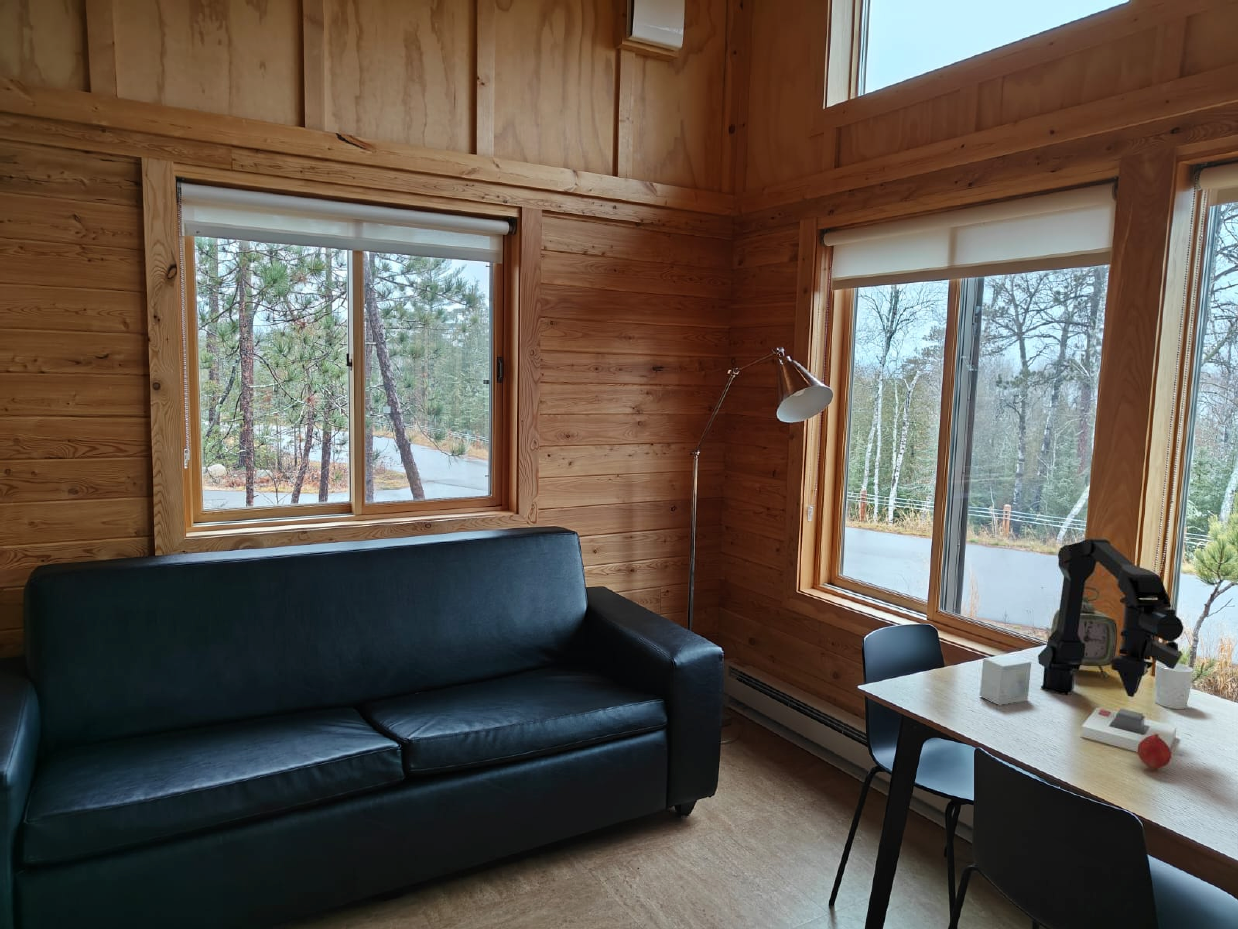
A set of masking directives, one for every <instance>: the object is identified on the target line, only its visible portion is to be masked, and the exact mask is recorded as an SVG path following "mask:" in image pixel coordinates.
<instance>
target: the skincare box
mask: <svg viewBox="0 0 1238 929" xmlns="http://www.w3.org/2000/svg"><path fill="white" fill-rule="evenodd" d="M981 668H982V671H981V681H980V689H979V696H982V697H983V698H986V699H988V700H989V701H988V700H987V701H988V702H990V701H991V702H990V703H992V702H994V703H997V704H998V705H997V706H1003V705H1002V704H1005V705H1009V704H1008V703H1011V704H1014V703H1013V702H1017V703H1022V701H1023V702H1026V701H1028V700H1029V689H1030V679H1031V670H1032V669H1031V668H1032V661H1030V660H1027V659H1024V658H1022V657H1020V656H1017V655H1015V654H1005V655H997V656H992V657H983V659H982V667H981ZM983 698H982V699H983ZM994 703H993V704H994Z"/></svg>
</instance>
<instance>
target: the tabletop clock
mask: <svg viewBox="0 0 1238 929" xmlns="http://www.w3.org/2000/svg"><path fill="white" fill-rule="evenodd" d="M1085 589H1086V590H1087V589H1090V590H1093V591H1095V592H1096V594H1097V596H1095V597H1092V598H1088V597H1089V596H1087V595H1084V596H1083V602H1082V609H1081V616H1080V623H1079V630H1078V635H1079V637H1080V639H1081V641H1082V642H1083V643H1085V650H1084V658H1083V660H1082V663H1081V666H1083V667H1084V666H1085V667H1097V668H1098V669H1099V670H1100V677H1103V678H1106V677H1107V676H1108V672H1107V671H1105V670H1104V669H1103V667H1105V666H1109V665H1112V660H1113V659H1114V658H1115V657H1116V656H1115V655H1116V652H1117V647H1118V646H1117V645H1118V627H1117V623H1116V620H1115V619H1113V618H1111V617H1109V616H1108V615H1106V614H1104V613H1103V612H1101V611H1099V610H1096V608H1095V606H1094V604H1093V603H1091V602H1092V601H1095V600H1097V599H1099V597H1100V591H1099V590H1098V589H1097V588H1096V587H1094V586H1089V585H1085ZM1058 616H1059V609H1058V610H1056V612H1055V613H1054V615H1053V619H1052V623H1051V630H1050V636H1051V635H1052V633H1053V632H1054V631H1055V630H1056V629H1057V623H1058ZM1073 671H1078V670H1077V669H1073Z"/></svg>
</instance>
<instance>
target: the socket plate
mask: <svg viewBox="0 0 1238 929" xmlns="http://www.w3.org/2000/svg"><path fill="white" fill-rule="evenodd" d="M1118 712H1119V711H1115V710H1110V709H1106V708H1104V707H1103V708H1102V707H1096V708H1095V709H1094V710H1093V711H1092V713H1091V714H1090V715H1089V717H1088V718H1087V719H1086V720H1085V721H1084V723H1083V724H1082V725H1081V732H1080V738H1085V739H1089V740H1092V741H1095V742H1099V743H1103V744H1107V745H1110V746H1115V747H1118V748H1122V749H1126V750H1129V751H1132V752H1137V753H1138V745H1139V744H1140V742H1141V741H1142V740H1144V739H1145V738H1146V737H1149V736H1151V735H1154V734H1155V733H1158V734H1159V737H1160V738H1161V739H1162V740H1163V741H1164V742H1165V743H1166V744H1167V745H1168V747H1169V749H1170V748H1171V746H1172V745H1173V743H1174V741H1175V739H1176V734H1177V726H1175V725H1173V724H1169V723H1164V722H1160V721H1155V720H1151V719H1148V718H1145V720H1144V731H1143V735H1141V734H1137V733H1133V732H1129V731H1125V730H1121V729H1118V728H1115V721H1116V714H1117V713H1118ZM1170 750H1171V749H1170Z"/></svg>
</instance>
